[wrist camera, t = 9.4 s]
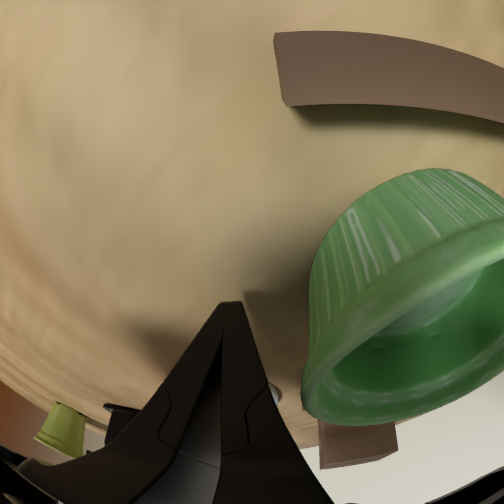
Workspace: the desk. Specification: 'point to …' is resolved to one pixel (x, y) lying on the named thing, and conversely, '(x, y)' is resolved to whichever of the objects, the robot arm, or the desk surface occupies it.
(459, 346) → the ramekin
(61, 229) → the desk surface
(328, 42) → the bay
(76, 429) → the plant pot
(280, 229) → the desk surface
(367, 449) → the walnut block
